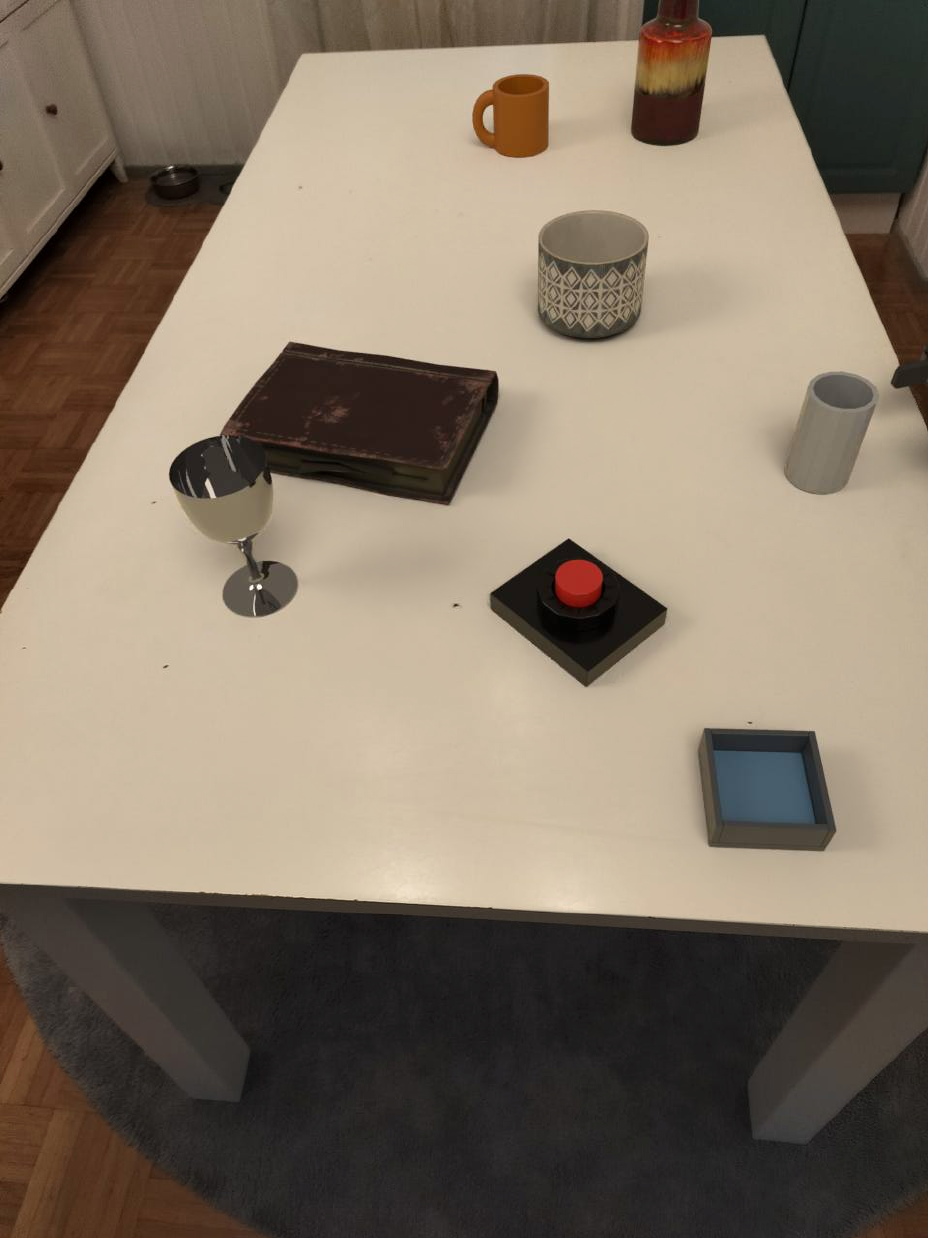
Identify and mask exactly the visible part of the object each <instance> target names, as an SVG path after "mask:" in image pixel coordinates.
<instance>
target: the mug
mask: <svg viewBox="0 0 928 1238" xmlns="http://www.w3.org/2000/svg"><path fill="white" fill-rule="evenodd" d="M490 106H492V113H493V114H492V115H493V116H492V118H493V119H492V121H493V132H490V130H488V129H487V128H486V126H485V124H484V112H485V111H486V109H487V108H488V107H490ZM549 114H550V81H548V79H547V78H545V77H543V76H542V75H541V76H540V75H537V74H530V73H522V74H521V73H519V74H512V75H507V76H503V77H501V78H499V79H497V80H496V81H494V82H493V84H492V88H491V89H488V90H485V91H483V92H482V93H481V94H479V96H478V97H477V98H476V100H475V103H474V105H473V108H472V114H471V116H472V117H471V118H472V119H471V120H472V121H471V123H472V126H473V127H472V128H473V131H474V132H475V136H476V137H477V139H478V140H479V141H480V143H482V144H483V145H484V146H485V147H488V148H491V149H494V150H495V151H496V152H497V153H499V154H500V155H502V156H505V157H509V158H527V157H531V156H532V157H533V156H536V155H539V154H541V153H543V152H544V151H546V150H547V148H548V147H549V128H550V127H549V123H550V122H549V121H550V119H549V118H550V115H549Z"/></svg>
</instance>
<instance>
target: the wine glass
mask: <svg viewBox="0 0 928 1238" xmlns="http://www.w3.org/2000/svg"><path fill="white" fill-rule="evenodd" d="M271 473H272V472H271V471H270V469H269V465H268V461H267V458H266V455H265V452H264V451H263V449H262V447H261V446H260V445H259V444H258V443H256V442H255V441H253V440H251V439H249V438H246V437H242V436H235V435H222V436H220V435H216V436H211V437H207V438H204V439H201V440H199V441H197V442H195V443H192V444H190V445H189V446H187V447H186V448H185V449H183V450H182V451H180V452H179V454H178V455H176V456H175V458H174V459H173V461H172V462H171V465H170V467H169V471H168V480H169V482H170V485H171V488H172V490H173V493H174V495H175V497H176V499H177V502H178V504H179V506H180V508H181V510H182V511H183V512H184V514H185V516H186V517H187V519H188V520H189V522H191V524H192V525H193V526H194V528H195V529H196V530H197V531H198V532H199V533H200V534H201V535H203V536H204V537H205V538H207V539H209V540H211V541H213V542H216V543H219V544H222V545H228V546H232V547H234V548H235V549H237V550H238V552H239V553H240V555H241V556H242V558H243V560H244V561H245V563H246V565H244V566H242V567H240V568H238V569H236V571H234V572H233V573H232V574H231V575H230V576H229V577H228V578H227V580H226V582H225V583H224V585H223V588H222V594H221V595H222V600H223V603H224V604H225V607H226V608H227V609H228V610H230V611H231V612H232V613H234V614H235V615H238V616H241V617H245V618H246V617H247V618H260V617H265V616H269V615H271V614H274V613H276V612H278V611H280V610H282V609H283V608H284V607H286V606H287V605H288V604H289V603H290V602H291V601H292V600H293V598H294V597H295V595H296V593H297V590H298V586H299V585H298V583H299V582H298V577H297V575H296V572H294V570H293V569H292V568H291V567H290V566H288V565H287V564H284V563H283V562H279V561H273V560H259V561H256V556H255V548H254V545H255V540H256V539H257V538H258V537H259V535H260V534H262V532H263V531H264V529H266V527H267V526H268V524H269V522H270V520H271V518H272V515H273V510H274V485H273V483H274V482H273V479H272V474H271Z"/></svg>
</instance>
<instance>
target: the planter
mask: <svg viewBox="0 0 928 1238" xmlns="http://www.w3.org/2000/svg"><path fill="white" fill-rule="evenodd" d="M649 235H650V234H649V231H648V230H647V228H646V227H645V225H643V223H642V222H640V220H637V219H636V218H634V217H631V216H629V215H627V214H623V213H620V212H617V211H611V210H601V209H600V210H599V209H589V210H588V209H587V210H578V211H572V212H568V213H565V214H562V215H560V216H557V217H555V218H553V219H551V220H550V221H548V222H547V223H545V224H544V225H543V227H542V228H541V229H540V231H539V233H538V238H537V239H538V240H537V241H538V242H537V243H538V245H537V246H538V247H537V248H538V249H537V250H538V252H537V314H538V316H539V319H540V321H542V323H544V325H545V326H547V328H549V329H551V330H553V331H554V332H557V333H559V334H562V335H565V336H568V337H574V338H579V339H581V338H583V339H597V338H598V339H599V338H605V337H610V336H613V335H617V334H619V333H622V332H624V331H626V330H628V329H629V328H630V327H632V326H633V325H634V324H635V323H636V322H637V321H638V319H639V317H640V315H641V311H642V303H643V302H642V301H643V295H644V286H645V275H646V266H647V257H648V250H649V249H648V248H649V240H650V239H649V238H650V236H649Z"/></svg>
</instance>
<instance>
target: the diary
mask: <svg viewBox="0 0 928 1238" xmlns="http://www.w3.org/2000/svg"><path fill="white" fill-rule="evenodd" d="M499 380H500V379H499V376H498V373H497V370H491V369H482V368H474V367H465V366H455V365H446V364H438V363H433V362H427V361H420V360H414V359H409V358H405V357H399V356H392V355H387V354H377V353H368V352H360V351H351V350H350V351H349V350H340V349H334V348H330V347H324V346H318V345H313V344H306V343H302V342H295V341H288V343H286V345H285V346H284V348H283V349H282V351H281V352H280V353H279V354H278V355H277V357H276V358H275V359H274V360H273V362H272V363H271V364H270V366H268V368H267V369H266V370H265V371H264V373H263V374H262V375H260V377H259V378H258V379H257V380H256V382H255V383H254V384H253V385H252V387H251V389H249V391H248V392H247V393H246V395H245V396H244V397H243V399H242V400H241V401H240V402H239V404H238V405H237V406H236V408H235V409H234V411H233V413H232V414H231V416H230V417H229V419H227V421H226V422H225V424H224V425H223V427H222V429H221V431H220V433H219V436H222V435H235V436H242V437H246V438H249V439H251V440H253V441H255V442H256V443H258V444H259V445H260V446H261V447H262V449H263V451H264V452H265V455H266V458H267V461H268V465H269V469H270V473H275V474H280V475H286V476H287V475H288V476H293V477H300V478H305V479H307V478H308V479H314V480H319V481H328V482H333V483H338V484H341V485H345V486H349V487H353V488H356V489H361V490H365V491H369V492H373V493H377V494H380V495H385V496H390V497H396V498H404V499H410V500H418V501H425V502H432V503H438V504H443V505H450V503H451V501H452V499H453V496H454V495H455V493H456V491H457V489H458V486H459V483H460V482H461V480H462V479H463V476H464V474H465V472H466V470H467V467H468V465H469V463H470V462H471V459H472V457H473V455H474V453H475V451H476V449H477V446H478V445H479V443H480V441H481V438H482V436H483V434H484V432H485V430H486V428H487V426H488V424H489V422H490V420H491V417H492V416H493V413H494V412H495V409H496V407H497V405H498V403H499V390H500V383H499Z"/></svg>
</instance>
